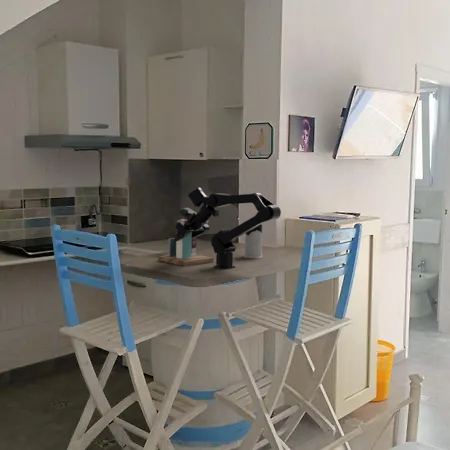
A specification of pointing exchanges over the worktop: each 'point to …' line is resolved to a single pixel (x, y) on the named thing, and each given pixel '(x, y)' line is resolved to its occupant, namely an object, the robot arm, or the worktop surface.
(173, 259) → the wooden board
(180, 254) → the teal rectangular block
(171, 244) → the grey metal bookend
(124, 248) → the worktop surface
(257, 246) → the glass holder
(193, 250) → the supplement box
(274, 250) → the worktop surface
